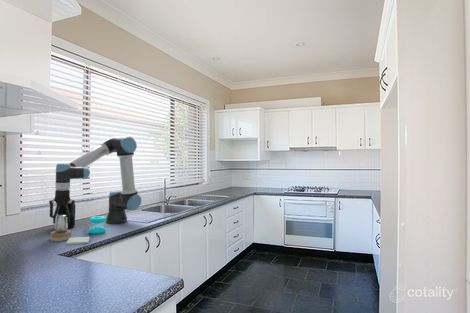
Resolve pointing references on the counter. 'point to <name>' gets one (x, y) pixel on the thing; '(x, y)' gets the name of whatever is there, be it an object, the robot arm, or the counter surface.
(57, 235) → the collar
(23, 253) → the counter surface
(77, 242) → the board
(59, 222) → the plug
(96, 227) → the donuts
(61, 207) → the coffee jar
